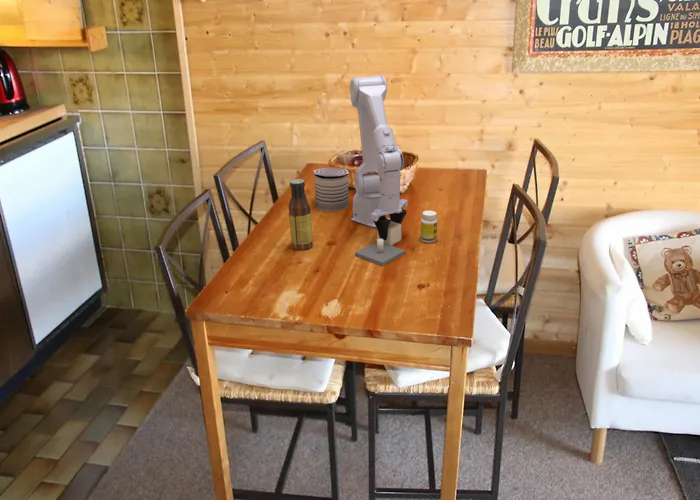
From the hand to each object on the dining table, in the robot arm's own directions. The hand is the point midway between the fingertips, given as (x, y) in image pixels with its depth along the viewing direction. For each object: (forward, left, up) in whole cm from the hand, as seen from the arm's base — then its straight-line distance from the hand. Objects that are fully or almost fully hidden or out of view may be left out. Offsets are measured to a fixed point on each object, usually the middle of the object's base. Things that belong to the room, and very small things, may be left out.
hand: (389, 236), depth 207 cm
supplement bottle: (+8, +8, -2) cm, 12 cm away
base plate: (+4, -9, -1) cm, 10 cm away
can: (-32, +10, -2) cm, 34 cm away
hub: (0, 0, -1) cm, 1 cm away
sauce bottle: (-17, -19, -2) cm, 26 cm away
